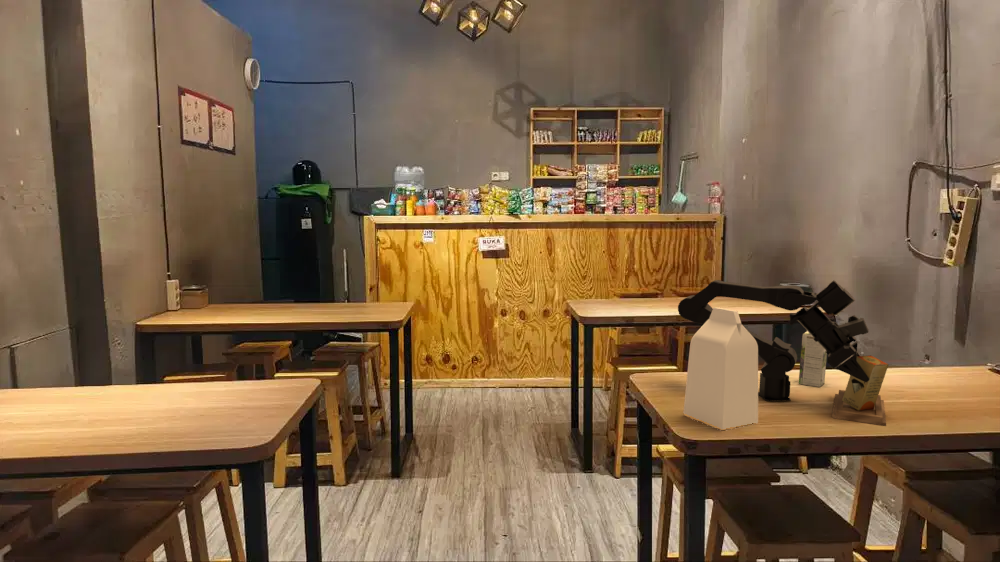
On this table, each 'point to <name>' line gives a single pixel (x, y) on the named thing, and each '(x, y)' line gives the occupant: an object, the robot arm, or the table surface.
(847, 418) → the tray
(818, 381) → the syrup box
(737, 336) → the milk
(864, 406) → the shoe polish box
